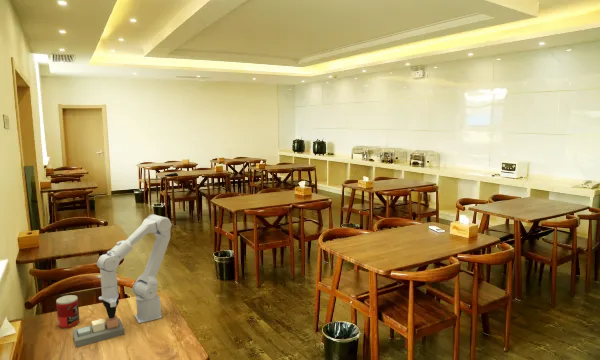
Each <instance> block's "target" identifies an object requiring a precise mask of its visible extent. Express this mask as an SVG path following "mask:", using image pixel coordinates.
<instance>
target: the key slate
mask: <svg viewBox="0 0 600 360" xmlns="http://www.w3.org/2000/svg"><path fill="white" fill-rule="evenodd" d="M87 326H88V327H86V326H83V327H84V328H82V327H79V328H80V329H78V328H77V329H78V337H80V336H84V335H88V334H91V332H90V328H89V326H90V325H87Z"/></svg>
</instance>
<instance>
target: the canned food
mask: <svg viewBox="0 0 600 360" xmlns="http://www.w3.org/2000/svg"><path fill="white" fill-rule="evenodd" d="M55 303H56V304H55V305H56V313H57V316H56V317H57V324H58V327H59V328H62V329H70V328H73V327H76V326H77V325H78V324H79V323H80V320H81V319H80V308H79V306H80V305H79V297H78V295H74V294H73V295H72V294H70V295H69V294H68V295H63V296H61V297H59V298H57V299H56V300H55Z"/></svg>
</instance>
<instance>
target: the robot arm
mask: <svg viewBox="0 0 600 360" xmlns="http://www.w3.org/2000/svg"><path fill="white" fill-rule="evenodd" d="M172 226H173V224H172V222H171V220H170V218H168V217H166V216H161V215H157V214H154V213H153V214H152V213H151V214H149V215H148V216H147V217H146V218H144V219H143V221H142V223H141V224H140V226H138V227H137V228H136V229H135V230H134V232H132V234H130V235H129V237H128V238H126V239H124V240H119V241H117V242H116V243H115V246H113V247H112V248H111V249H110V250H107V252H106V253H103V254H102V255H100V256H99V257H98V260H97V262H96V266H97V268H99V272H100V273H99V275H100V286H101V296H99V297H98V300H99V301H101V303H102V306H104V308H105V310H106V314H107V317H109V319H110V318H114V317H115V315H116V311H117V308H118V306H119V303H120V300H119V296H120V294H119V290H118V289H119V288H118V276H117V269H118V267H119V266H120V262H121V261H122V260H123V259H124V258H125V257H126V256H128V254H130V252H132V250H133V246H134V245H135V244H137V243H139V241H141V240H142V239H143V238H144V237H145V236H146V235H147V234H154V236H155V241H154V243H153V246H152V248H151V251H150V254H149V257H148V259H147V262H146V264H145V265H146V266H145V267H144V270H143V272H142V274H141V275H139V276H138V277H137V279H136V281H135V282H134V283H133V285H132V292H133V294H134V295H135V300H136V301H135V303H136V304H135V305H136V314H134V318H135V319H136V321H137V323H138V324H143V323H147V322H150V321H154V320H158V319H162V305H161V303H162V302H161V298H160V295H159V294H158V285H159V282H158V279H157V276H158V274H159V273H158V272H159V270H160V267H161V265H162V262H163V259H164V257H165V253H166V251H167V249H168V245H169V242H170V239H171V228H172Z"/></svg>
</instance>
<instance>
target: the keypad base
mask: <svg viewBox="0 0 600 360" xmlns="http://www.w3.org/2000/svg"><path fill="white" fill-rule="evenodd" d="M117 318H118V324H119V326H118V327H114V328H110V329H107V326H106V321H104V325H105V330H102V331H98V332H95V333H93V329H92V324H91V325H90V324H89V325H85V326H83V327H82V326H81V327H78V328H74V329H72V337H73V341H74V347H75V348H79V347H83V346H87V345H90V344H93V343H94V344H95V343H98V342H101V341H106V340H109V339H113V338H117V337H120V336H124V335H125V327H124V325H123V323H122V320H121V318H120V317H117ZM88 326H89V328H90V332H91V334H88V335H84V336H80V337H78V329H80V328H84V327H88Z"/></svg>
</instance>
